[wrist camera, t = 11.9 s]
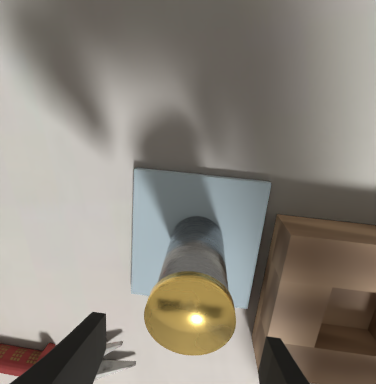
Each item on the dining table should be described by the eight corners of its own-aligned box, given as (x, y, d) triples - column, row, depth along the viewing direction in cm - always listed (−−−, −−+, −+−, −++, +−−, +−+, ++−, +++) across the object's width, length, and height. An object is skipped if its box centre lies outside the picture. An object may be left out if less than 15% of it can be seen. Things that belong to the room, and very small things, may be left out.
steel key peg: (226, 214, 19) (238, 284, 11) (224, 265, 20) (233, 358, 12) (168, 212, 19) (141, 279, 11) (170, 262, 20) (147, 352, 13)
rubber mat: (246, 303, 22) (247, 308, 21) (133, 288, 22) (131, 293, 22) (269, 181, 18) (271, 183, 18) (136, 167, 19) (134, 169, 18)
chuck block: (389, 356, 22) (421, 399, 19) (251, 337, 23) (258, 375, 19) (441, 232, 18) (493, 258, 15) (276, 214, 19) (290, 235, 16)
